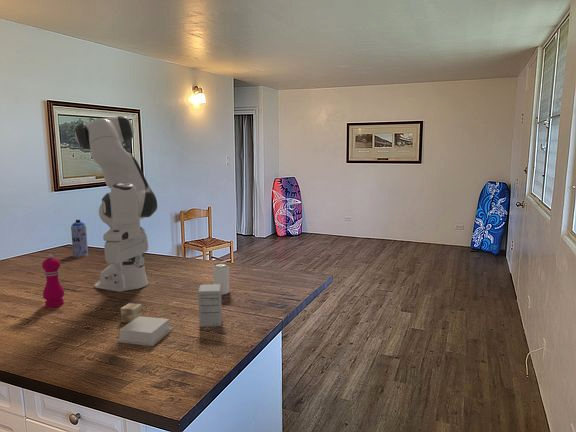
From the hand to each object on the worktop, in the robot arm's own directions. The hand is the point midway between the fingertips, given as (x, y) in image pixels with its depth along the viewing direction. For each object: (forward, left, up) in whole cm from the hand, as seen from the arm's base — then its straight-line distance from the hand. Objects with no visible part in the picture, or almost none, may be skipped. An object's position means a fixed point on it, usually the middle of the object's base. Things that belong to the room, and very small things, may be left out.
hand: (129, 270), depth 151 cm
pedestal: (+12, -11, -18) cm, 24 cm away
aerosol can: (-80, +75, -18) cm, 111 cm away
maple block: (0, 0, -18) cm, 18 cm away
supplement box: (+28, +4, -18) cm, 33 cm away
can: (+20, +34, -18) cm, 43 cm away
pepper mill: (-37, +6, -18) cm, 42 cm away
